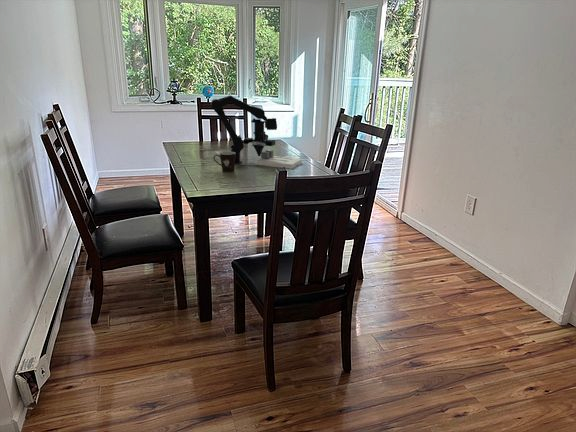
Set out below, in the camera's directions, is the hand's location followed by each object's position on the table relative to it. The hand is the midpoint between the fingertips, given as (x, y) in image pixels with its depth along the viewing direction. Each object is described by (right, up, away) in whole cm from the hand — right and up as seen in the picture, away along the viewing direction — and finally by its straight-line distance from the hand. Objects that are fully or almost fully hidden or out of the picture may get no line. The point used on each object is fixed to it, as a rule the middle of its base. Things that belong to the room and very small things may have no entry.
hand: (259, 156), depth 259 cm
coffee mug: (-17, -11, -21) cm, 29 cm away
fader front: (+4, -1, -1) cm, 4 cm away
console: (+12, -5, -2) cm, 14 cm away
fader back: (+6, +1, +4) cm, 7 cm away
